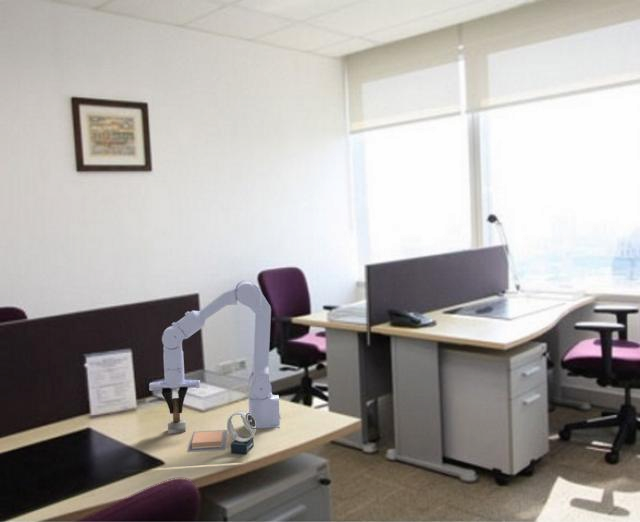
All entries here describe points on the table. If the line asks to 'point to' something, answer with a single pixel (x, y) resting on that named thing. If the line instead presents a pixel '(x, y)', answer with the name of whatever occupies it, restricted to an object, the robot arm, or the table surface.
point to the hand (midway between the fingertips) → (176, 412)
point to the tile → (207, 439)
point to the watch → (241, 443)
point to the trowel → (176, 419)
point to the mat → (210, 447)
